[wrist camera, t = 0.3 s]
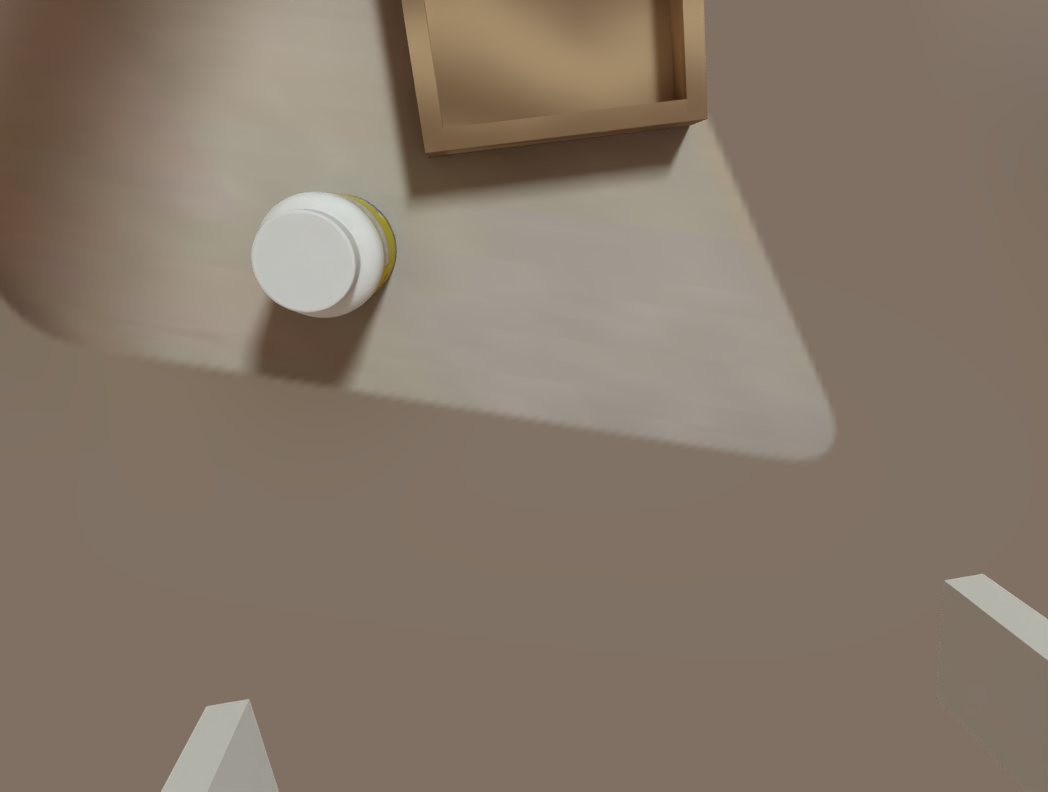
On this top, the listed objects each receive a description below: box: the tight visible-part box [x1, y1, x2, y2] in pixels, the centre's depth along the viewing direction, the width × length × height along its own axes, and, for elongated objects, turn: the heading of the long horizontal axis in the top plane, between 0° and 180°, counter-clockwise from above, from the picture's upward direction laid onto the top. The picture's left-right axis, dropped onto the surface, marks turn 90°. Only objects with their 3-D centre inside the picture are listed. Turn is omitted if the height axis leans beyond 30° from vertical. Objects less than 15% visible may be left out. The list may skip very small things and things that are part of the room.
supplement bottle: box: [251, 192, 397, 318], centre depth 29 cm, size 5×5×10 cm
